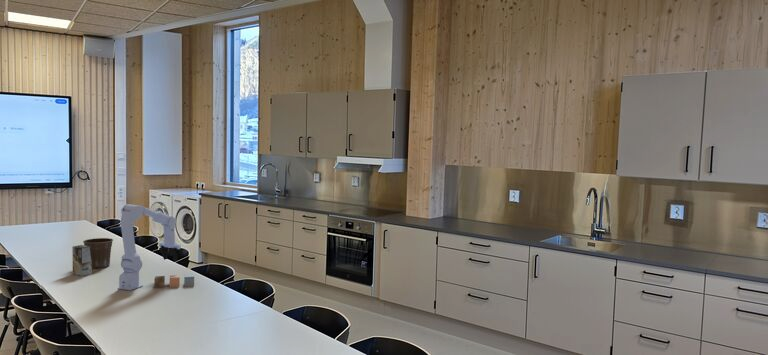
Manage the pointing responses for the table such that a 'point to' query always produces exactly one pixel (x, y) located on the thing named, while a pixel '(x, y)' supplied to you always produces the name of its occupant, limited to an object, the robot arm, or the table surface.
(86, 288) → the table surface
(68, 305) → the table surface
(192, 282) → the slate block
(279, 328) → the table surface
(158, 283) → the walnut block
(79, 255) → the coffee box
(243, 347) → the table surface
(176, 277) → the orange block
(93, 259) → the plant pot
